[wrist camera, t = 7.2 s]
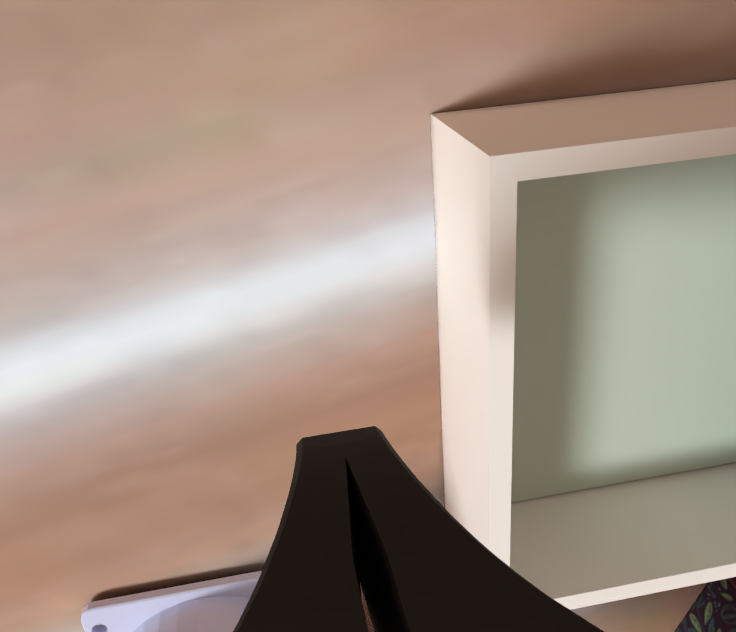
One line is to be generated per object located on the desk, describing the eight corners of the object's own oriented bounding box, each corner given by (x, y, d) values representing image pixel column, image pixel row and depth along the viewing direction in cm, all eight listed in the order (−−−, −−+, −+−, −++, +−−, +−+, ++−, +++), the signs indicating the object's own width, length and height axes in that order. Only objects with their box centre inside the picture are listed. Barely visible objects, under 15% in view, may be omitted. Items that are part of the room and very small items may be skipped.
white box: (847, 438, 27) (968, 530, 22) (444, 510, 25) (489, 625, 21) (958, 54, 20) (1156, 75, 16) (430, 113, 19) (489, 156, 14)
